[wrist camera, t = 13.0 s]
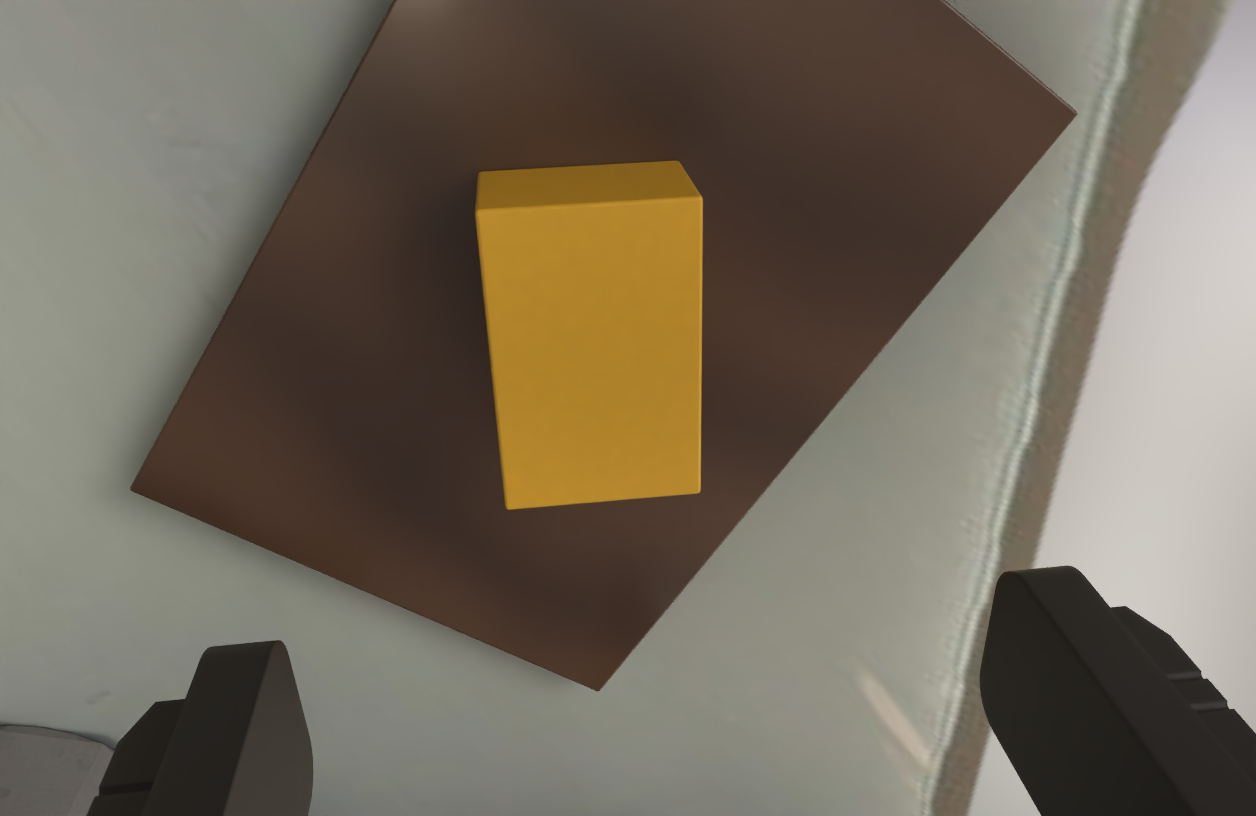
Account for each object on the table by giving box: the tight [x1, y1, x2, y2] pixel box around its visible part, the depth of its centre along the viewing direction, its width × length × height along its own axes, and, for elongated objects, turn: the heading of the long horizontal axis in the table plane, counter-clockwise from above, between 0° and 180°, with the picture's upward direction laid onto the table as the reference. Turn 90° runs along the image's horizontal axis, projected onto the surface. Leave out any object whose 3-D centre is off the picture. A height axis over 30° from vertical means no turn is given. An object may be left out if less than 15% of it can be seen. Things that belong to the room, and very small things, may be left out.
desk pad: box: [130, 0, 1077, 691], centre depth 24 cm, size 20×14×1 cm
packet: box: [475, 161, 703, 510], centre depth 22 cm, size 7×4×3 cm, turn 2°
